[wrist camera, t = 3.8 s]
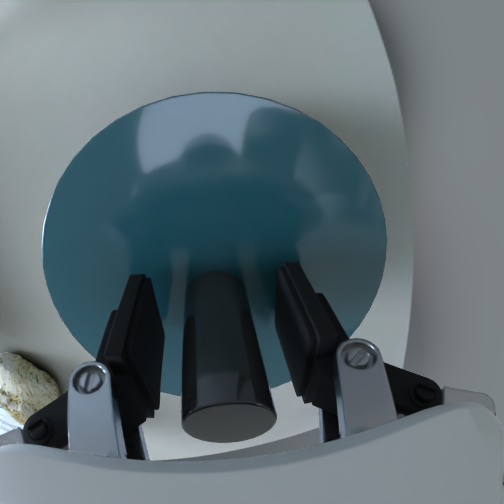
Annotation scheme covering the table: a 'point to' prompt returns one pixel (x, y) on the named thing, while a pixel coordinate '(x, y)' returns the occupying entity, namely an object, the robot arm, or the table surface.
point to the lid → (213, 242)
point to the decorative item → (24, 387)
